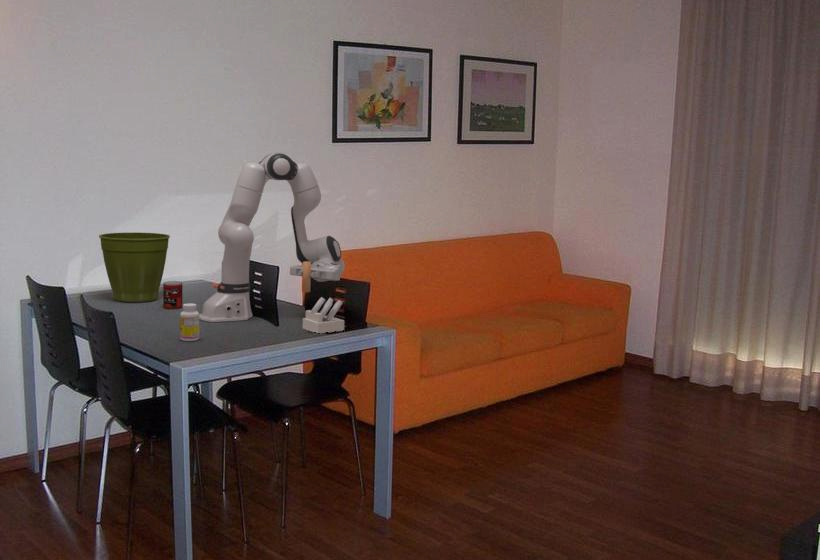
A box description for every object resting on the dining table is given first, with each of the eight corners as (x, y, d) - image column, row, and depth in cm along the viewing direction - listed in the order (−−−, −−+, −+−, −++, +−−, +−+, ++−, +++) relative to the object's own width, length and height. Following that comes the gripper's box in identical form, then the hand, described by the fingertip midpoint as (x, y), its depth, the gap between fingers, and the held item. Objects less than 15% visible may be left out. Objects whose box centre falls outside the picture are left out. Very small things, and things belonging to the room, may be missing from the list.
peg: (304, 292, 338) (305, 262, 336) (300, 291, 340) (301, 261, 339) (311, 292, 340) (312, 262, 338) (307, 290, 342) (308, 261, 341)
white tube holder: (318, 333, 324) (318, 300, 322) (302, 328, 332) (303, 296, 330) (347, 330, 333) (348, 297, 331) (331, 324, 341) (332, 293, 339)
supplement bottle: (181, 337, 309) (181, 302, 307) (200, 337, 310) (200, 303, 308) (178, 341, 303) (178, 305, 301) (197, 341, 303) (197, 306, 301)
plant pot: (181, 302, 378) (180, 237, 373) (114, 307, 359) (113, 240, 355) (154, 291, 400) (153, 231, 396) (90, 296, 382) (89, 232, 377)
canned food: (159, 308, 362) (159, 282, 360) (171, 305, 369) (171, 280, 367) (174, 310, 359) (174, 284, 357) (186, 307, 366) (186, 282, 364)
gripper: (299, 260, 354) (282, 264, 341) (343, 265, 347) (328, 269, 334) (298, 275, 355) (282, 279, 342) (343, 280, 348) (328, 284, 335)
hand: (305, 274), depth 338 cm, fingers closed on peg, 3 cm apart
